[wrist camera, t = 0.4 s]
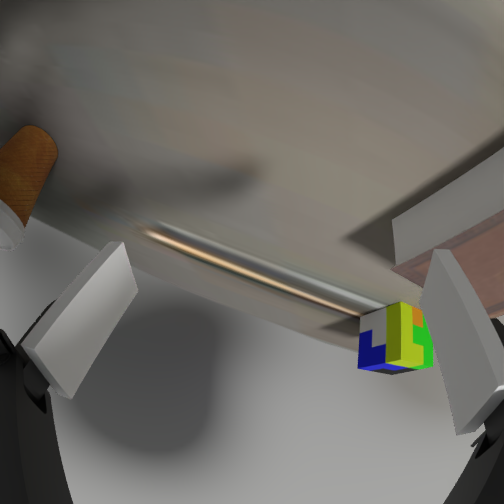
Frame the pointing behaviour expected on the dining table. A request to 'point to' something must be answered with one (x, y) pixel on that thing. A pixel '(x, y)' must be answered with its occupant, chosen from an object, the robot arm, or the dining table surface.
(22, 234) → the disposable coffee cup
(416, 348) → the puzzle toy
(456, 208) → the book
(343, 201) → the dining table surface
